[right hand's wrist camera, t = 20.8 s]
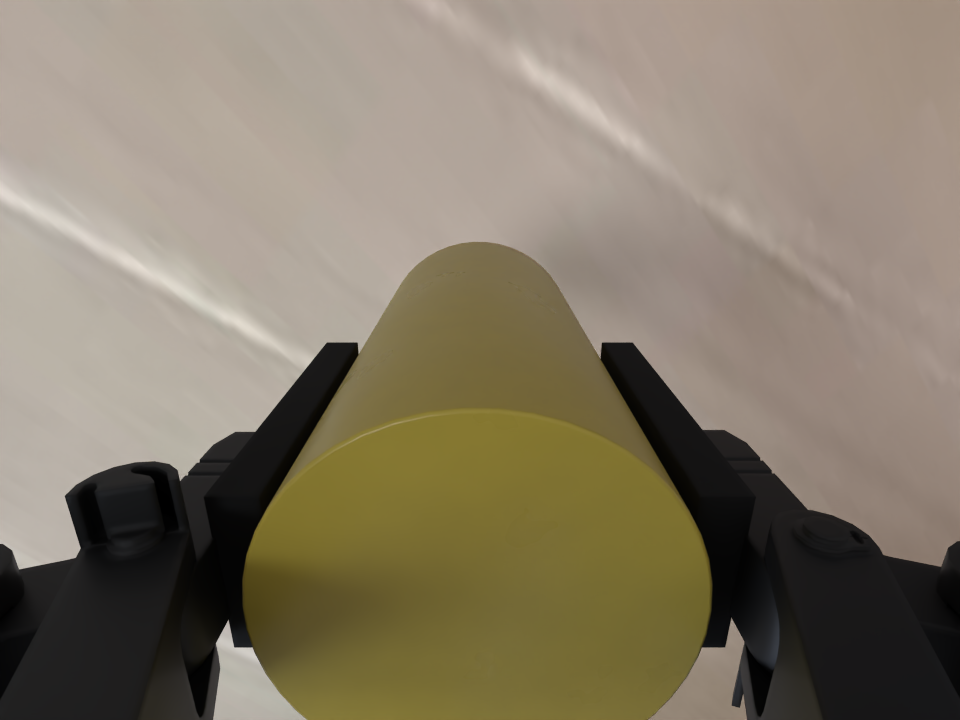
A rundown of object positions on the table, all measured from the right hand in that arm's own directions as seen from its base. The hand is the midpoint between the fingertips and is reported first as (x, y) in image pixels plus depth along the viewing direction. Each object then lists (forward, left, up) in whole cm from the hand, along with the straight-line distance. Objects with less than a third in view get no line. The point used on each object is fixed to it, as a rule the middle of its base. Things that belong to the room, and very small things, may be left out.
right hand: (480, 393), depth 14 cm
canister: (0, 0, -5) cm, 5 cm away
